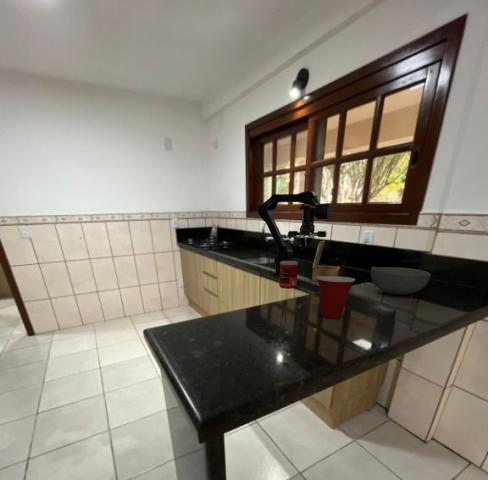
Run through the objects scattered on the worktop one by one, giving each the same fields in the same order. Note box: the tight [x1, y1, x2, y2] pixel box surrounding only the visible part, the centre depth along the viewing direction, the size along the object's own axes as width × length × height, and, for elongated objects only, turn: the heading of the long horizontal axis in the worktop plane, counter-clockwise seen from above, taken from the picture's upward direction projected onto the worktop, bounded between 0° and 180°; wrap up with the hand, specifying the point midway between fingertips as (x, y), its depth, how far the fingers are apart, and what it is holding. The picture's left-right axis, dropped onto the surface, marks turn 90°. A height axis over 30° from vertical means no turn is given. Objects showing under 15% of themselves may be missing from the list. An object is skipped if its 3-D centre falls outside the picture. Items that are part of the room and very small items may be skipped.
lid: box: [312, 240, 326, 269], centre depth 131 cm, size 12×13×1 cm
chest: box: [311, 265, 341, 282], centre depth 133 cm, size 12×13×6 cm
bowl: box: [370, 266, 432, 296], centre depth 104 cm, size 20×20×10 cm
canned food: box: [278, 260, 299, 290], centre depth 116 cm, size 8×8×11 cm
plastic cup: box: [317, 276, 356, 319], centre depth 79 cm, size 11×11×12 cm
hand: (305, 251), depth 136 cm, fingers closed
